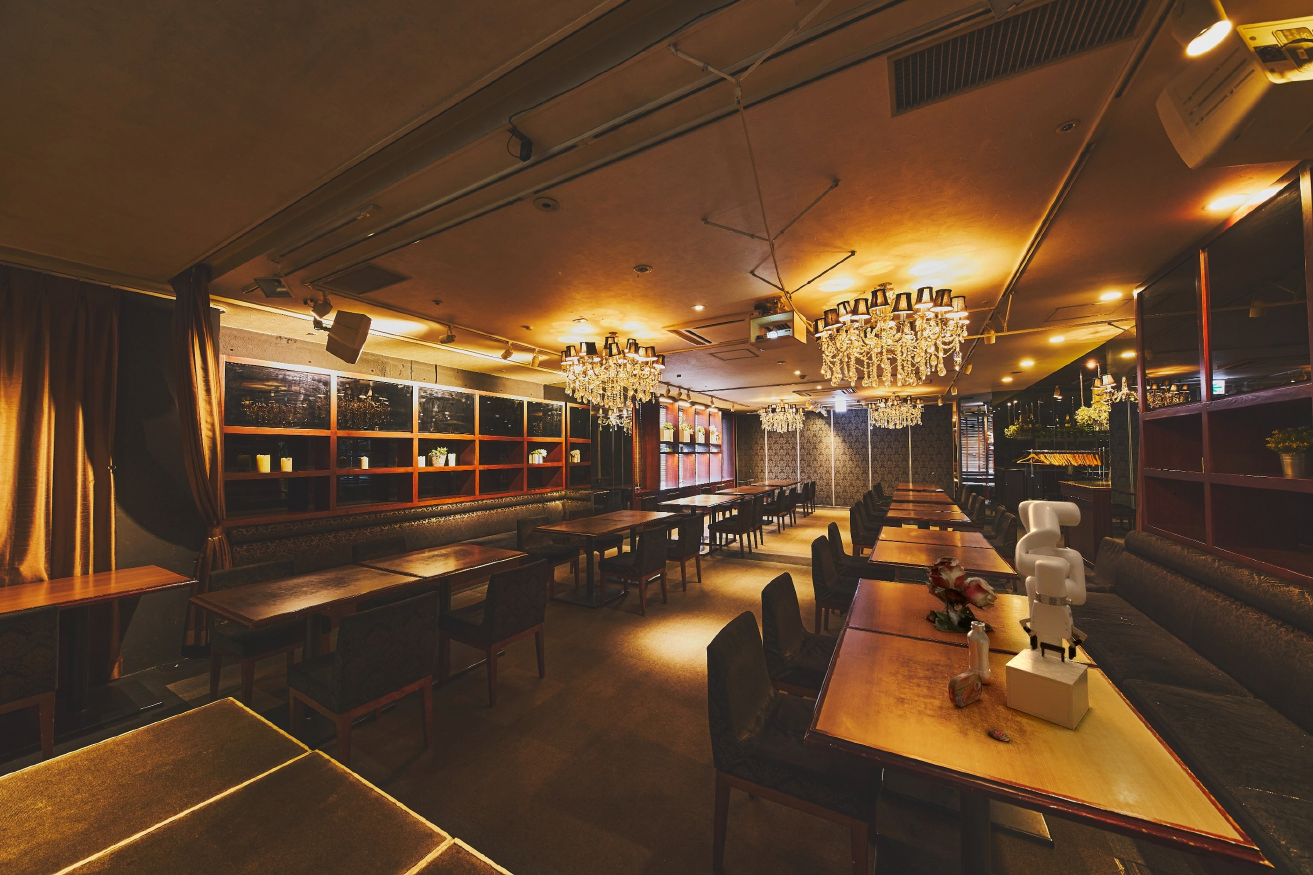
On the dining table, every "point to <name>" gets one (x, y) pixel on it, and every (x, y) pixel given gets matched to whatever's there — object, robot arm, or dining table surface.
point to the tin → (965, 688)
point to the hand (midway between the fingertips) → (1052, 653)
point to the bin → (1048, 698)
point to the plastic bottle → (979, 652)
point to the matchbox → (998, 734)
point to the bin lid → (1048, 665)
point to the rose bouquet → (957, 596)
